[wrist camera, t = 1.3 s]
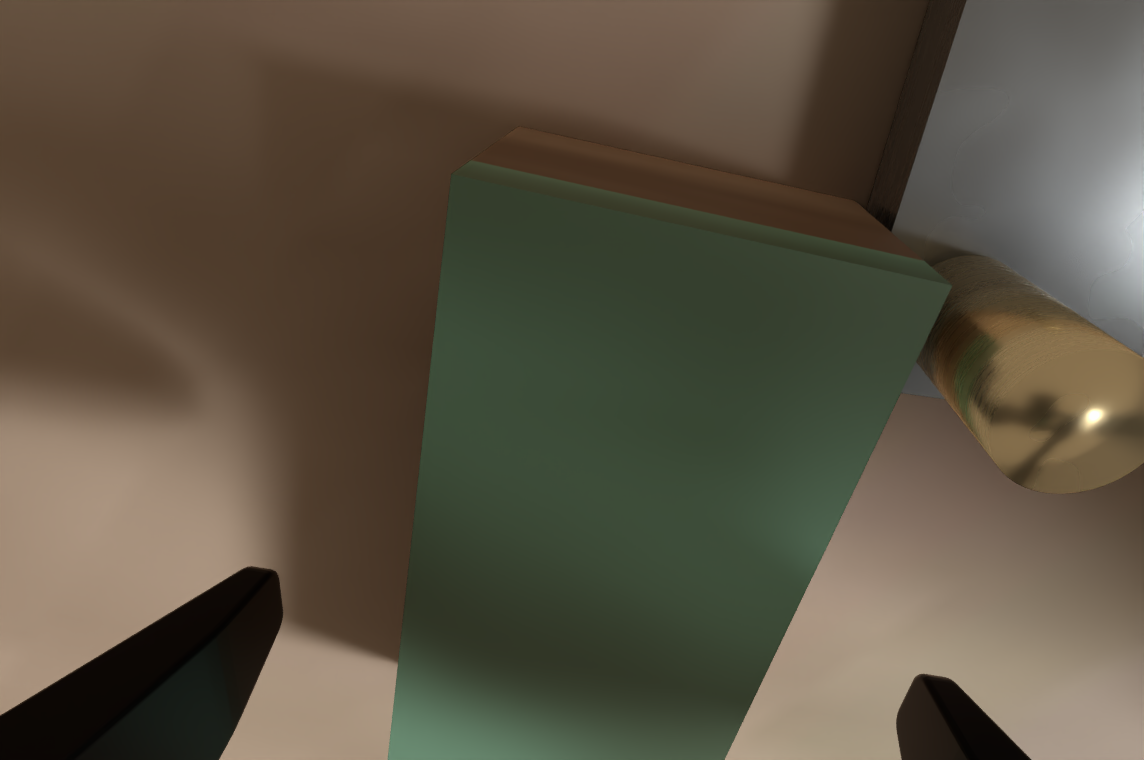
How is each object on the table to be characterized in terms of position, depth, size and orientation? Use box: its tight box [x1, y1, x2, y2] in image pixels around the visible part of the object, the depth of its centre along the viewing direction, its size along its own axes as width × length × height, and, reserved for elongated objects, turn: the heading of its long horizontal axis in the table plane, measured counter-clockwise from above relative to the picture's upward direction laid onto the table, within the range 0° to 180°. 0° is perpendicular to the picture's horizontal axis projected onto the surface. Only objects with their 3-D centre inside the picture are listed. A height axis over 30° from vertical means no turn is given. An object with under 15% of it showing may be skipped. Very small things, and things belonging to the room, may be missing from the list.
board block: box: [388, 126, 953, 760], centre depth 11 cm, size 12×5×4 cm, turn 169°
